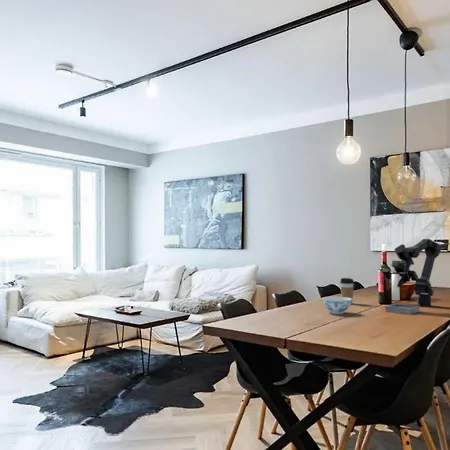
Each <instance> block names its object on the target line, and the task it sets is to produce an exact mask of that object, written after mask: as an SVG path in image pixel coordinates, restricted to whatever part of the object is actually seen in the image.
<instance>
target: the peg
mask: <svg viewBox="0 0 450 450" xmlns="http://www.w3.org/2000/svg"><path fill="white" fill-rule="evenodd" d="M399 281H400V277H399V274H392V286H391V300H392V301H400V300H401V298H400V287H401V286H400V287H398V286H397V285H398V283H399Z"/></svg>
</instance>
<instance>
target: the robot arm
mask: <svg viewBox="0 0 450 450" xmlns="http://www.w3.org/2000/svg"><path fill="white" fill-rule="evenodd" d="M441 250H442V247H441V245H440V244H439V243H438V242H436V241H433V240H432V239H430V238H423V239H421V240H420V241H419V242H418V243H416V244H414V245H413V246H407V247H406V246H405V244H400V245H398V246H397V247H395V248H394V253H395V254H396V256H397V258H398V259H399V260H392V262H391V266H390V267H392V268H393V270H392V269H389V268H383V271H382V274H383V276H384V278H385V279H387V280H389V286H390V287H392V274H399V283H398V285H397V286H398V287H401V286H403V285H405V284H407V283H409V282H410V283H411V281H413V282H414V287H413V288H414V293H415V295H417V297H416V298H417V299H416V301H417V302H416V306H419V307H432V306H433V305H432V297H433V296H434V290H433V289H432V283H431V281H430V279H431V275H432V271H433V268H434V263H435V260H436V258H438V256H439V255H440V253H441ZM422 251H424V253H425V256H426V257H425V260H424V263H423V268H422V271H421V274H420V277H419V275H418V274H417V271H415V270H411V269H410V267H411V266H414V265H415V262H414V259H417V258H418V257H419V256H420V254H421V252H422Z"/></svg>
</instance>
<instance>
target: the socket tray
mask: <svg viewBox="0 0 450 450" xmlns="http://www.w3.org/2000/svg"><path fill="white" fill-rule="evenodd" d="M385 312H387V313H395V314H404V315H412V314H416V313H420V306H419V305H413V304H406V303H405V304H404V303H403V304H402V303H393V304H389V305H385Z"/></svg>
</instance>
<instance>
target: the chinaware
mask: <svg viewBox="0 0 450 450" xmlns="http://www.w3.org/2000/svg"><path fill="white" fill-rule="evenodd" d="M322 301H323V304H324V306H325V308H326V309H327V310H328V311H330V314H333V315H342V314H344V312H345V311H347V310H348V309H349V308H350V306H351V305H352V304H351V301H352V302H353V299H351V298H347V297H342V296H324V297H322Z"/></svg>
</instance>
